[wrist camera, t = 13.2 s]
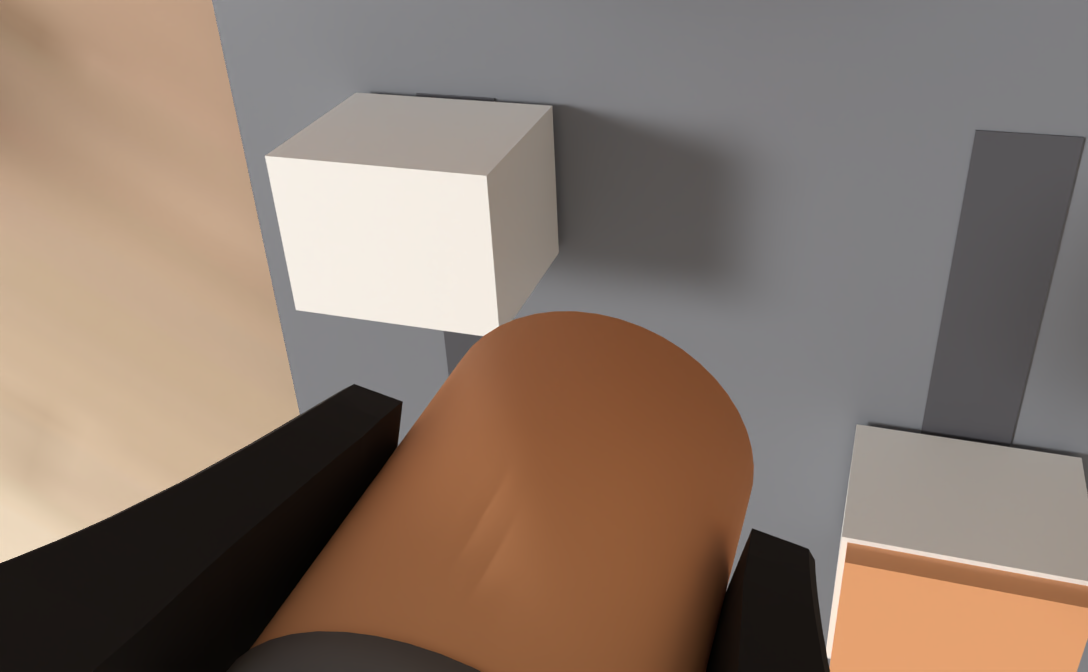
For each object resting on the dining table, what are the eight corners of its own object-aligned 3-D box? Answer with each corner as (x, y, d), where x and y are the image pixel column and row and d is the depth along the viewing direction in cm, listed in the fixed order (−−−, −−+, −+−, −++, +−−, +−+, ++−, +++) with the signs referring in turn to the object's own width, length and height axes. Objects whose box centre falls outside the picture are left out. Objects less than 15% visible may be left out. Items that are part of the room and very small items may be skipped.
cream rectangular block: (356, 93, 20) (265, 155, 17) (552, 105, 19) (486, 175, 16) (376, 232, 21) (295, 309, 19) (558, 252, 20) (499, 338, 18)
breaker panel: (220, -114, 20) (163, -97, 18) (1475, -112, 14) (1534, -88, 13) (354, 567, 29) (323, 613, 28) (1137, 739, 23) (1148, 809, 22)
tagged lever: (856, 423, 20) (839, 556, 17) (1081, 458, 19) (1105, 606, 16) (840, 538, 22) (822, 678, 19) (1047, 576, 21) (1063, 731, 17)
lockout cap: (394, 451, 14) (102, 850, 9) (536, 241, 12) (239, 637, 7) (639, 620, 14) (478, 1100, 9) (829, 448, 12) (742, 979, 7)
